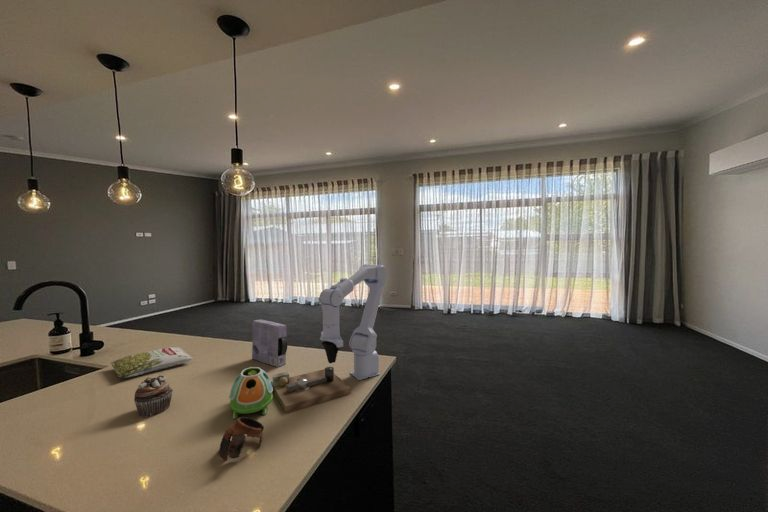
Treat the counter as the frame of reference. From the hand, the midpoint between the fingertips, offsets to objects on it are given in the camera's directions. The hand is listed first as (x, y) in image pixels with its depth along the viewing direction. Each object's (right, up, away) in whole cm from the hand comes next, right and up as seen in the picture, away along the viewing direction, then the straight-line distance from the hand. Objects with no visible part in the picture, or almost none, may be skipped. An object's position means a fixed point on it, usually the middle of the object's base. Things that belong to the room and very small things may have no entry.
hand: (331, 362), depth 104 cm
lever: (-7, -8, +1) cm, 11 cm away
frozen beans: (-81, -11, +24) cm, 85 cm away
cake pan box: (-33, -10, +28) cm, 44 cm away
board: (-8, -10, +1) cm, 13 cm away
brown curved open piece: (-18, -12, -30) cm, 37 cm away
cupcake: (-54, -12, -10) cm, 56 cm away
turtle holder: (-24, -11, -9) cm, 28 cm away
